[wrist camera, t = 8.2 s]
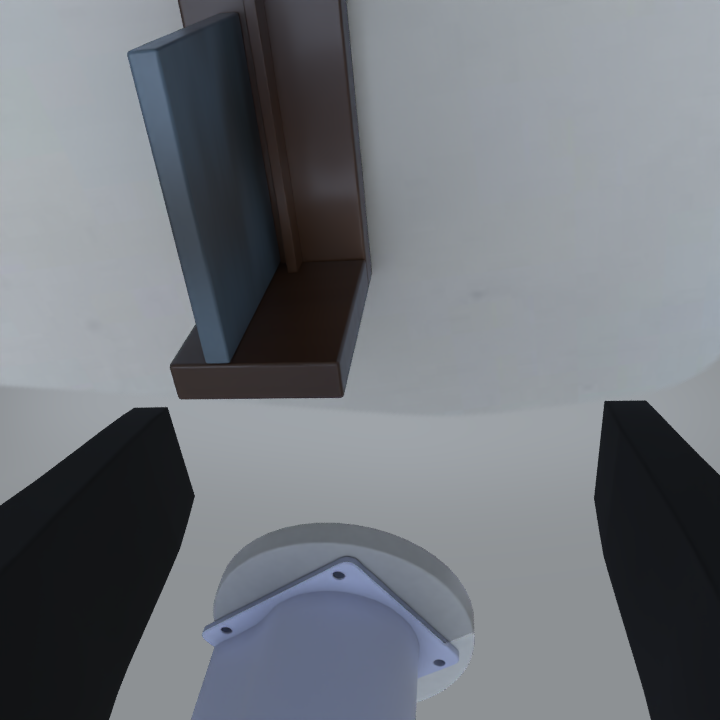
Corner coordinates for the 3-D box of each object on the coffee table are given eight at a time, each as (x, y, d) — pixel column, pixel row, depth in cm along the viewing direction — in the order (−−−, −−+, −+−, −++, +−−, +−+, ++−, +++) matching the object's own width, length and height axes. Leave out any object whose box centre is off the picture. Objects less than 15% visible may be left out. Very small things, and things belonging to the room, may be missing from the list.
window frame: (94, -474, 13) (-156, -745, 8) (297, -517, 13) (180, -843, 7) (246, 279, 22) (177, 400, 16) (372, 275, 21) (344, 399, 16)
